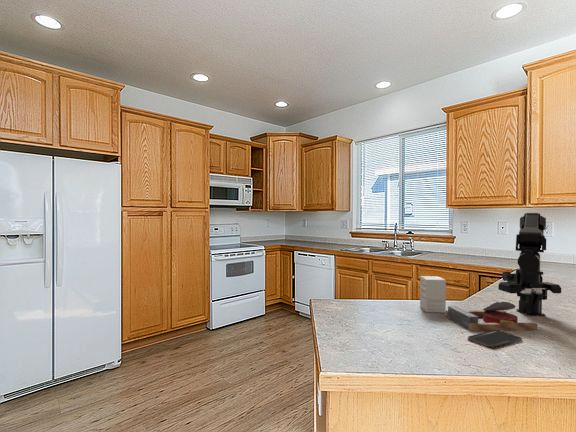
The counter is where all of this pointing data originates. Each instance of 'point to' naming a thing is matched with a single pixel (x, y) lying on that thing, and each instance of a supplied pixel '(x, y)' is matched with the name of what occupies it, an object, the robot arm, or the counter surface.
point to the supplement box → (433, 294)
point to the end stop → (461, 316)
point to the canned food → (499, 313)
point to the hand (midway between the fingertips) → (528, 312)
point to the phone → (494, 339)
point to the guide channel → (497, 324)
